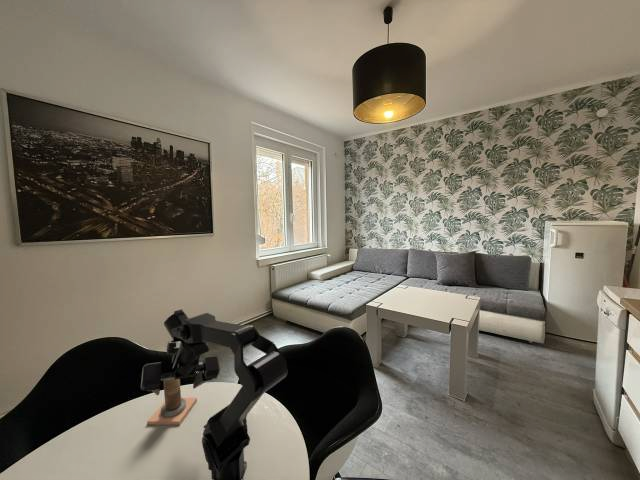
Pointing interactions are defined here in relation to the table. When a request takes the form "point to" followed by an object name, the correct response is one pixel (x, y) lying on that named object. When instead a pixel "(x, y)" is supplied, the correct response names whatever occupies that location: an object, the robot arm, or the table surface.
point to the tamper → (172, 398)
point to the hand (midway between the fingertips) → (176, 390)
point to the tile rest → (175, 420)
